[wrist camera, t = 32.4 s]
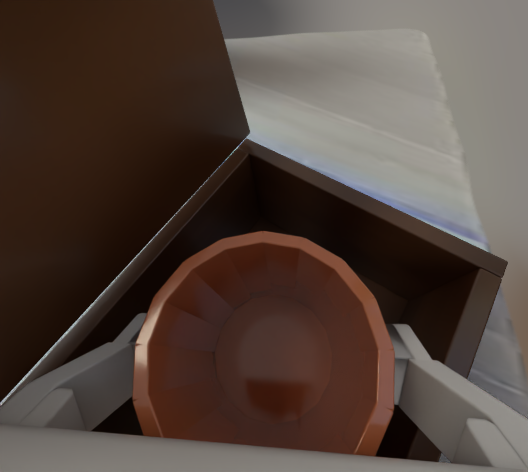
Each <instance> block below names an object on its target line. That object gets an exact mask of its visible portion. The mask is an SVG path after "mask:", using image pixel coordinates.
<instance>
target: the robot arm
mask: <svg viewBox="0 0 528 472" xmlns="http://www.w3.org/2000/svg"><path fill="white" fill-rule="evenodd" d="M146 315H147V313H140V314H138V315H137V316H136V317H135V318H134V319H133V320H132V321H131V322H130V323H129V325H128V326H127V327H126V328H125V329H124V330H123V331H122V332H121V333H120V335H119V336H118V337H117V338H116V339H115V340H114V341H113V342H112V343H110V342H108V343H106V344H104V345H102V346H100V347H98V348H96V349H94V350H92V351H90V352H88V353H86V354H84V355H82V356H80V357H78V358H77V359H75V360H73V361H71V362H69V363H67V364H65V365H63V366H61V367H59V368H57V369H55V370H53V371H51V372H49V373H47V374H45V375H43V376H41V377H39V378H37V379H35V380H33V381H31V382H29V383H27V384H26V385H25V386H24V387H22V388H21V389H20V390H19V391H18V392H17V393H16V394H15V395H14V396H13V397H11V398H10V399H9V400H8V401H7V402H6V403H5V404H4V405H3V406H2V407H0V472H528V418H526V417H524V416H523V415H521V414H520V413H518V412H517V411H515V410H514V409H512V408H510V407H509V406H507V405H506V404H504V403H503V402H501V401H500V400H498V399H496V398H495V397H493V396H492V395H490V394H489V393H487V392H486V391H484V390H483V389H481V388H479V387H478V386H476V385H475V384H473V383H472V382H470V381H469V380H467V379H465V378H464V377H462V376H461V375H459V374H458V373H456V372H455V371H453V370H451V369H450V368H448V367H447V366H445V365H444V364H442V363H441V362H439V361H437V360H432V359H431V357H430V356H429V354H428V353H427V351H426V350H425V348H424V347H423V345H422V344H421V342H420V341H419V339H418V338H417V337H416V335H415V334H414V332H413V331H412V329H411V328H410V326H409V325H407V324H385V325H386V327H387V330H388V333H389V336H390V338H391V341H392V344H393V347H394V351H395V384H394V404H395V405H399V407H400V408H401V409H402V410H403V411H404V412H405V414H406V415H407V416H408V417H409V418H410V419H411V420H412V421H413V422H414V423H415V424H416V425H417V426H418V427H419V429H420V430H421V431H422V432H423V433H424V434H425V435H426V436H427V437H428V438H429V439H430V440H431V441H432V442H433V443H434V445H435V446H436V447H437V448H438V449H439V450H440V451H441V452H442V453H443V454H444V455H445V456H446V457H447V458H448V459H449V461H450V462H451V463H443V462H432V461H420V460H409V459H398V458H387V457H375V456H364V455H353V454H341V453H330V452H319V451H308V450H296V449H285V448H274V447H262V446H251V445H240V444H229V443H217V442H206V441H195V440H184V439H172V438H161V437H150V436H139V435H127V434H116V433H105V432H94V431H91V430H93V429H94V428H95V427H96V426H97V425H99V424H100V423H101V422H102V421H103V420H104V419H106V418H107V417H108V416H109V415H110V414H112V413H113V412H114V411H115V410H116V409H117V408H119V407H120V406H121V405H122V404H123V403H125V402H126V401H127V400H128V399H129V398H130V397H132V396H133V373H134V350H135V345H136V344H135V343H136V340H137V338H138V335H139V332H140V330H141V327H142V325H143V322H144V320H145V317H146Z"/></svg>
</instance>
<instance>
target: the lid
mask: <svg viewBox="0 0 528 472" xmlns="http://www.w3.org/2000/svg"><path fill="white" fill-rule="evenodd" d="M249 134H250V130H249V126H248V123H247V119H246V116H245V112H244V108H243V105H242V101H241V98H240V94H239V91H238V87H237V84H236V80H235V77H234V73H233V70H232V66H231V63H230V59H229V55H228V52H227V48H226V45H225V41H224V38H223V34H222V31H221V27H220V24H219V20H218V17H217V13H216V10H215V6H214V2H213V0H0V402H1V401H2V400H3V399H4V398H5V397H6V396H7V395H8V394H9V392H10V391H11V390H12V389H13V388H14V387H15V386H16V385H17V384H18V383H19V382H20V381H21V380H22V378H23V377H24V376H25V375H26V374H27V373H28V372H29V371H30V370H31V369H32V368H33V367H34V365H35V364H36V363H37V362H38V361H39V360H40V359H41V358H42V357H43V356H44V355H45V354H46V353H47V351H48V350H49V349H50V348H51V347H52V346H53V345H54V344H55V343H56V342H57V341H58V340H59V339H60V337H61V336H62V335H63V334H64V333H65V332H66V331H67V330H68V329H69V328H70V327H71V326H72V325H73V323H74V322H75V321H76V320H77V319H78V318H79V317H80V316H81V315H82V314H83V313H84V312H85V310H86V309H87V308H88V307H89V306H90V305H91V304H92V303H93V302H94V301H95V300H96V299H97V298H98V296H99V295H100V294H101V293H102V292H103V291H104V290H105V289H106V288H107V287H108V286H109V285H110V284H111V282H112V281H113V280H114V279H115V278H116V277H117V276H118V275H119V274H120V273H121V272H122V271H123V269H124V268H125V267H126V266H127V265H128V264H129V263H130V262H131V261H132V260H133V259H134V258H135V257H136V255H137V254H138V253H139V252H140V251H141V250H142V249H143V248H144V247H145V246H146V245H147V244H148V243H149V241H150V240H151V239H152V238H153V237H154V236H155V235H156V234H157V233H158V232H159V231H160V230H161V228H162V227H163V226H164V225H165V224H166V223H167V222H168V221H169V220H170V219H171V218H172V217H173V216H174V214H175V213H176V212H177V211H178V210H179V209H180V208H181V207H182V206H183V205H184V204H185V203H186V202H187V200H188V199H189V198H190V197H191V196H192V195H193V194H194V193H195V192H196V191H197V190H198V189H199V187H200V186H201V185H202V184H203V183H204V182H205V181H206V180H207V179H208V178H209V177H210V176H211V175H212V173H213V172H214V171H215V170H216V169H217V168H218V167H219V166H220V165H221V164H222V163H223V162H224V161H225V159H226V158H227V157H228V156H229V155H230V154H231V153H232V152H233V151H234V150H235V149H236V148H237V146H238V145H239V144H240V143H241V142H242V141H243V140H244V139H245V138H246V137H247V136H248V135H249Z"/></svg>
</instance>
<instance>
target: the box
mask: <svg viewBox="0 0 528 472" xmlns="http://www.w3.org/2000/svg"><path fill="white" fill-rule="evenodd" d="M259 231H268V232H274V233H280V234H286V235H292V236H298V237H303V238H306V239H308V240H310V241H311V242H313V243H315V244H317V245H318V246H320V247H322V248H324V249H325V250H327V251H329V252H331V253H332V254H334V255H336V256H338V257H339V258H341V259H343V260H344V261H345V262H346V263H347V264H348V266H349V267H350V268H351V269H352V270H353V272H354V273H355V274H356V275H357V276H358V277H359V279H360V280H361V281H362V282H363V283H364V285H365V286H366V287H367V288H368V289H369V291H370V292H371V293H372V294H373V295H374V297H375V299H376V300H377V303H378V306H379V308H380V311H381V314H382V317H383V319H384V322H385V324H407V325H409V326H410V328H411V329H412V331H413V332H414V334H415V335H416V337H417V338H418V339H419V341H420V342H421V344H422V345H423V347H424V348H425V350H426V351H427V353H428V354H429V356H430V357H431V359H432V360H437V361H439V362H441V363H442V364H444V365H445V366H447V367H448V368H450V369H451V370H453V371H455V372H456V373H458V374H459V375H461V376H462V377H464V378H465V379H467V378H468V375H469V372H470V369H471V366H472V364H473V361H474V358H475V355H476V352H477V349H478V346H479V344H480V341H481V338H482V335H483V332H484V329H485V326H486V324H487V321H488V318H489V315H490V312H491V309H492V306H493V304H494V301H495V298H496V295H497V292H498V289H499V286H500V284H501V281H502V279H501V278H502V277H503V275H504V272H505V269H506V266H507V264H508V262H507V261H505V260H503V259H501V258H499V257H497V256H495V255H493V254H491V253H489V252H486V251H484V250H482V249H480V248H478V247H476V246H474V245H472V244H469V243H467V242H465V241H463V240H461V239H459V238H457V237H455V236H452V235H450V234H448V233H446V232H444V231H442V230H440V229H438V228H435V227H433V226H431V225H429V224H427V223H425V222H423V221H421V220H418V219H416V218H414V217H412V216H410V215H408V214H406V213H404V212H402V211H399V210H397V209H395V208H393V207H391V206H389V205H387V204H385V203H382V202H380V201H378V200H376V199H374V198H372V197H370V196H368V195H365V194H363V193H361V192H359V191H357V190H355V189H353V188H351V187H348V186H346V185H344V184H342V183H340V182H338V181H336V180H334V179H331V178H329V177H327V176H325V175H323V174H321V173H319V172H317V171H315V170H312V169H310V168H308V167H306V166H304V165H302V164H300V163H298V162H295V161H293V160H291V159H289V158H287V157H285V156H283V155H281V154H278V153H276V152H274V151H272V150H270V149H268V148H266V147H264V146H261V145H259V144H257V143H255V142H253V141H251V140H249V139H245V141H244V142H243V143H242V144H241V145H240V146H239V147H238V149H236V150H235V151H234V152H233V153H232V154H231V156H230V157H229V158H228V159H227V160H226V161H225V162H224V163H223V164H222V165H221V166H220V167H219V169H218V170H217V171H216V172H215V173H214V174H213V175H212V176H211V177H210V178H209V179H208V180H207V182H206V183H205V184H204V185H203V186H202V187H201V188H200V189H199V190H198V191H197V192H196V193H195V195H194V196H193V197H192V198H191V199H190V200H189V201H188V202H187V203H186V204H185V205H184V206H183V208H182V209H181V210H180V211H179V212H178V213H177V214H176V215H175V216H174V217H173V218H172V219H171V220H170V222H169V223H168V224H167V225H166V226H165V227H164V228H163V229H162V230H161V231H160V232H159V233H158V235H157V236H156V237H155V238H154V239H153V240H152V241H151V242H150V243H149V244H148V245H147V246H146V248H145V249H144V250H143V251H142V252H141V253H140V254H139V255H138V256H137V257H136V258H135V259H134V261H133V262H132V263H131V264H130V265H129V266H128V267H127V268H126V269H125V270H124V271H123V272H122V274H121V275H120V276H119V277H118V278H117V279H116V280H115V281H114V282H113V283H112V284H111V285H110V286H109V288H108V289H107V290H106V291H105V292H104V293H103V294H102V295H101V296H100V297H99V298H98V299H97V301H96V302H95V303H94V304H93V305H92V306H91V307H90V308H89V309H88V310H87V311H86V312H85V314H84V315H83V316H82V317H81V318H80V319H79V320H78V321H77V322H76V323H75V324H74V325H73V327H72V328H71V329H70V330H69V331H68V332H67V333H66V334H65V335H64V336H63V337H62V338H61V340H60V341H59V342H58V343H57V344H56V345H55V346H54V347H53V348H52V349H51V350H50V351H49V352H48V354H47V355H46V356H45V357H44V358H43V359H42V360H41V361H40V362H39V363H38V364H37V365H36V367H35V368H34V369H33V370H32V371H31V372H30V373H29V374H28V375H27V376H26V377H25V378H24V380H23V381H22V382H21V383H20V384H19V385H18V386H17V387H16V388H15V389H14V390H13V391H12V393H11V394H10V395H9V396H8V397H7V398H6V399H5V400H4V401H3V402H2V403H1V404H0V407H2V406H3V405H4V404H5V403H6V402H7V401H8V400H9V399H10V398H11V397H13V396H14V395H15V394H16V393H17V392H18V391H19V390H20V389H21V388H22V387H24V386H25V385H26V384H27V383H29V382H31V381H33V380H35V379H37V378H39V377H41V376H43V375H45V374H47V373H49V372H51V371H53V370H55V369H57V368H59V367H61V366H63V365H65V364H67V363H69V362H71V361H73V360H75V359H77V358H78V357H80V356H82V355H84V354H86V353H88V352H90V351H92V350H94V349H96V348H98V347H100V346H102V345H104V344H106V343H108V342H110V343H112V342H113V341H114V340H115V339H116V338H117V337H118V336H119V335H120V333H121V332H122V331H123V330H124V329H125V328H126V327H127V326H128V325H129V323H130V322H131V321H132V320H133V319H134V318H135V317H136V316H137V315H138V314H140V313H147V312H148V310H149V307H150V305H151V302H152V300H153V298H154V297H155V294H156V293H157V292H158V291H159V290H160V289H161V287H162V286H163V285H164V284H165V283H166V282H167V280H168V279H169V278H170V277H171V276H172V274H173V273H174V272H175V271H176V270H177V269H178V267H179V266H180V265H181V264H182V263H183V262H184V261H185V260H186V259H188V258H190V257H191V256H193V255H195V254H196V253H198V252H200V251H201V250H203V249H205V248H207V247H208V246H210V245H212V244H213V243H215V242H217V241H218V240H220V239H223V238H227V237H233V236H238V235H243V234H248V233H253V232H259ZM91 431H94V432H105V433H116V434H127V435H139V436H143V433H142V430H141V427H140V424H139V420H138V417H137V414H136V411H135V408H134V405H133V400H132V397H130V398H129V399H128V400H127V401H126V402H125V403H123V404H122V405H121V406H120V407H119V408H117V409H116V410H115V411H114V412H113V413H112V414H110V415H109V416H108V417H107V418H106V419H104V420H103V421H102V422H101V423H100V424H99V425H97V426H96V427H95V428H94V429H93V430H91ZM440 455H441V451H440V450H439V449H438V448H437V447H436V446H435V445H434V443H433V442H432V441H431V440H430V439H429V438H428V437H427V436H426V435H425V434H424V433H423V432H422V431H421V430H420V429H419V427H418V426H417V425H416V424H415V423H414V422H413V421H412V420H411V419H410V418H409V417H408V416H407V415H406V414H405V412H404V411H403V410H402V409H401V408H400V407H399V405H395V404H394V411H393V416H392V418H391V420H390V423H389V425H388V428H387V430H386V432H385V435H384V437H383V439H382V442H381V444H380V446H379V449H378V451H377V453H376V456H375V457H387V458H398V459H409V460H420V461H432V462H438V461H439V458H440Z"/></svg>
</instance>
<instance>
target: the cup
mask: <svg viewBox="0 0 528 472" xmlns="http://www.w3.org/2000/svg"><path fill="white" fill-rule="evenodd" d="M135 344H136V345H135V350H134V373H133V396H132V400H133V405H134V408H135V411H136V414H137V417H138V420H139V424H140V427H141V430H142V433H143V436H150V437H161V438H172V439H184V440H195V441H206V442H217V443H229V444H240V445H251V446H262V447H274V448H285V449H296V450H308V451H319V452H330V453H341V454H353V455H364V456H376V453H377V451H378V449H379V446H380V444H381V442H382V439H383V437H384V435H385V432H386V430H387V428H388V425H389V423H390V420H391V418H392V416H393V411H394V384H395V351H394V347H393V344H392V341H391V338H390V336H389V333H388V330H387V327H386V325H385V322H384V319H383V317H382V314H381V311H380V308H379V306H378V303H377V300H376V299H375V297H374V295H373V294H372V293H371V292H370V291H369V289H368V288H367V287H366V286H365V285H364V283H363V282H362V281H361V280H360V279H359V277H358V276H357V275H356V274H355V273H354V272H353V270H352V269H351V268H350V267H349V266H348V264H347V263H346V262H345V261H344V260H343V259H341V258H339V257H338V256H336V255H334V254H332V253H331V252H329V251H327V250H325V249H324V248H322V247H320V246H318V245H317V244H315V243H313V242H311V241H310V240H308V239H306V238H303V237H298V236H292V235H286V234H280V233H274V232H268V231H259V232H253V233H248V234H243V235H238V236H233V237H227V238H223V239H220V240H218V241H217V242H215V243H213V244H212V245H210V246H208V247H207V248H205V249H203V250H201V251H200V252H198V253H196V254H195V255H193V256H191V257H190V258H188V259H186V260H185V261H184V262H183V263H182V264H181V265H180V266H179V267H178V269H177V270H176V271H175V272H174V273H173V274H172V276H171V277H170V278H169V279H168V280H167V282H166V283H165V284H164V285H163V286H162V287H161V289H160V290H159V291H158V292H157V293H156V294H155V297H154V298H153V300H152V302H151V305H150V307H149V310H148V312H147V315H146V317H145V320H144V322H143V325H142V327H141V330H140V332H139V335H138V338H137V340H136V343H135Z"/></svg>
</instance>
